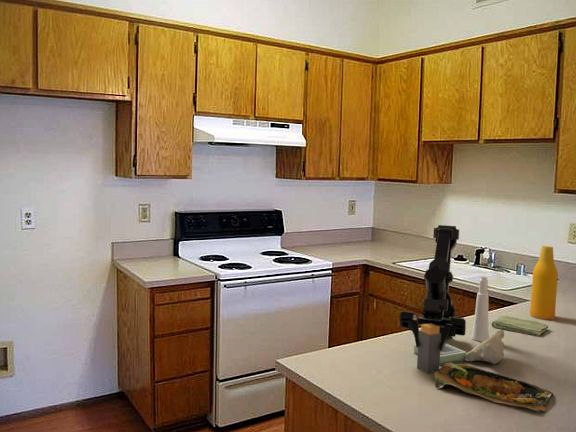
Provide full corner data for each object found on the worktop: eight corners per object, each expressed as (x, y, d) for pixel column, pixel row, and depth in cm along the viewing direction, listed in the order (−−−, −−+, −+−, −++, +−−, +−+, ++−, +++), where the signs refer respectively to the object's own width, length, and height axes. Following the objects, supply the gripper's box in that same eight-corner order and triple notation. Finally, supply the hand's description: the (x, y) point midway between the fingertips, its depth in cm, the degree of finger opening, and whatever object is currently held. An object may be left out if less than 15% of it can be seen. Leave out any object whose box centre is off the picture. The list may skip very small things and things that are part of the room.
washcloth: (540, 338, 188) (541, 329, 188) (490, 328, 199) (490, 320, 199) (548, 330, 199) (549, 322, 198) (500, 321, 209) (500, 313, 209)
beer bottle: (559, 320, 212) (564, 248, 209) (535, 319, 212) (540, 247, 209) (548, 314, 221) (553, 245, 218) (525, 313, 221) (530, 244, 219)
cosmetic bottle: (493, 341, 182) (497, 278, 180) (478, 342, 180) (482, 278, 178) (482, 336, 188) (485, 274, 186) (467, 337, 186) (471, 275, 184)
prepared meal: (555, 379, 140) (544, 401, 125) (554, 392, 140) (543, 416, 125) (449, 359, 156) (428, 376, 141) (449, 371, 156) (428, 389, 141)
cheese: (482, 377, 154) (524, 346, 154) (465, 356, 157) (506, 325, 156) (476, 374, 169) (514, 346, 168) (460, 355, 171) (498, 327, 170)
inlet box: (414, 353, 167) (414, 345, 167) (440, 348, 172) (440, 341, 172) (438, 365, 157) (439, 356, 157) (465, 360, 162) (466, 351, 162)
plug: (416, 367, 154) (419, 324, 153) (428, 365, 156) (430, 322, 155) (427, 373, 151) (429, 328, 150) (439, 371, 153) (441, 326, 152)
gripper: (401, 284, 159) (393, 329, 149) (467, 291, 152) (462, 339, 143) (404, 304, 167) (396, 348, 157) (467, 311, 160) (462, 358, 150)
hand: (428, 348), depth 152 cm, fingers closed on plug, 6 cm apart
